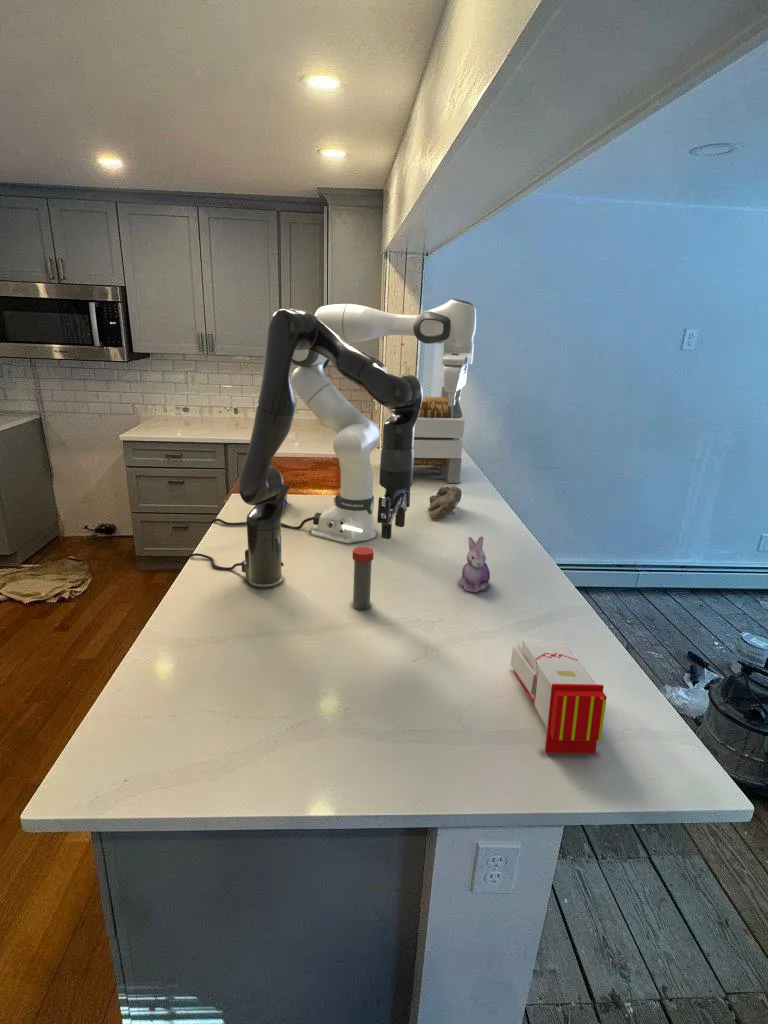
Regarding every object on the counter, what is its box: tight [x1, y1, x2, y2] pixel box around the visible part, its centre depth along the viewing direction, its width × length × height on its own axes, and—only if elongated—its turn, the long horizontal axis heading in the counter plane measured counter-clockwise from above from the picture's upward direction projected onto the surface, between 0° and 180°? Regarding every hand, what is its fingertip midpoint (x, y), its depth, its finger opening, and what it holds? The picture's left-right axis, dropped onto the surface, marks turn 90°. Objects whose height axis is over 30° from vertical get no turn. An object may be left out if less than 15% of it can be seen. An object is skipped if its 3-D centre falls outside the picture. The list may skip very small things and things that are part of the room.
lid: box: [352, 546, 375, 563], centre depth 146 cm, size 5×5×2 cm
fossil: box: [427, 486, 462, 521], centre depth 221 cm, size 22×10×15 cm
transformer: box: [385, 386, 465, 484], centre depth 268 cm, size 34×33×41 cm
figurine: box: [460, 535, 491, 593], centre depth 162 cm, size 9×10×15 cm
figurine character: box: [284, 484, 290, 509], centre depth 219 cm, size 7×8×15 cm
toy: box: [510, 639, 607, 754], centre depth 114 cm, size 12×13×30 cm
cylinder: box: [352, 560, 373, 610], centre depth 148 cm, size 4×4×16 cm
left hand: (393, 532), depth 133 cm, fingers open, 8 cm apart
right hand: (454, 403), depth 174 cm, fingers open, 8 cm apart
